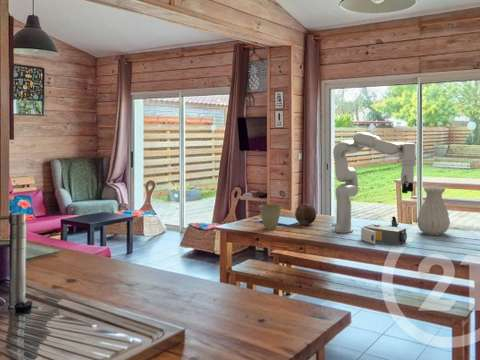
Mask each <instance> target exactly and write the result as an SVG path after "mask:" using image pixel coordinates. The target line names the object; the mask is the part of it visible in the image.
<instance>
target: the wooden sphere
mask: <svg viewBox="0 0 480 360" xmlns="http://www.w3.org/2000/svg"><path fill="white" fill-rule="evenodd" d="M294 217H295V219H296V222H298V223H299V224H301V225H303V226H309V225H311V224H312V223H314V222H315V220H316V219H317V210H316V209H315V208H314V206H313V205H312V204H309V203H303V204H300V205H299V206H298V207H297V208H296V209H295V211H294Z"/></svg>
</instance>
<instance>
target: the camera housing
mask: <svg viewBox="0 0 480 360" xmlns="http://www.w3.org/2000/svg"><path fill="white" fill-rule="evenodd" d="M362 227H363V228H366V229H369V230H372V231H375V232H376V236H375V243H381V242H382V244H387V243H389V245H392V246H393V245H395V246H398V245H401V244H403V242H404V243H406V242H405V241H407V238H408V234H407V228H404V227H403V228H402V227H398V226H397V227H391V225H383V224H377V223H371V224H367V225H364V226H362Z"/></svg>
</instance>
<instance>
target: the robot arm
mask: <svg viewBox="0 0 480 360" xmlns="http://www.w3.org/2000/svg"><path fill="white" fill-rule="evenodd" d="M365 148H366V149H367V148H368V149H371V150H374V151H376V152H378V153H381V154H384V155H388V156H400V155H401V173H400V183H401V194H408V192H410V193H411V192H414V179H415V178H414V177H415V176H414V175H415V172H414V170H415V169H414V167H416V144H415V143H414V142H399V141H397V142H395V141H394V142H390V141H386V140H384V139H381V138H380V137H379V136H378V135H373V134H372V133H370V132H368V131H359V132H355V134H354V135H353V137H352V140H342V141H340V142H337V144H335V146H334V148H333V151H332V154H333V160H334V169H335V170H334V171H335V178H336V180H337V182H340V183H342V182H343V183H342V184H339V185H337V186H336V188H335V197H336V198H335V199H336V201H335V202H336V223H332V224H331V228H332V227H333V228H334V229H333V231H334V232H336V233H343V234H349V233H353V232H354V229H353V228H352V202H351V198H354V197H356V196H357V195H358V193H359V182H358V181H359V179H358V174H357V172H356V171H357V170H355V168H353V167H351V166H349V161H348V158H347V156H346V155H351V154H356V153H359V152H360V151H361V150H363V149H365Z"/></svg>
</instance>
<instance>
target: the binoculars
mask: <svg viewBox="0 0 480 360" xmlns="http://www.w3.org/2000/svg"><path fill="white" fill-rule="evenodd" d="M390 226H391V227H398V226H399V223H398V221H397V218H396V216H392V217H391V224H390Z"/></svg>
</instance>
